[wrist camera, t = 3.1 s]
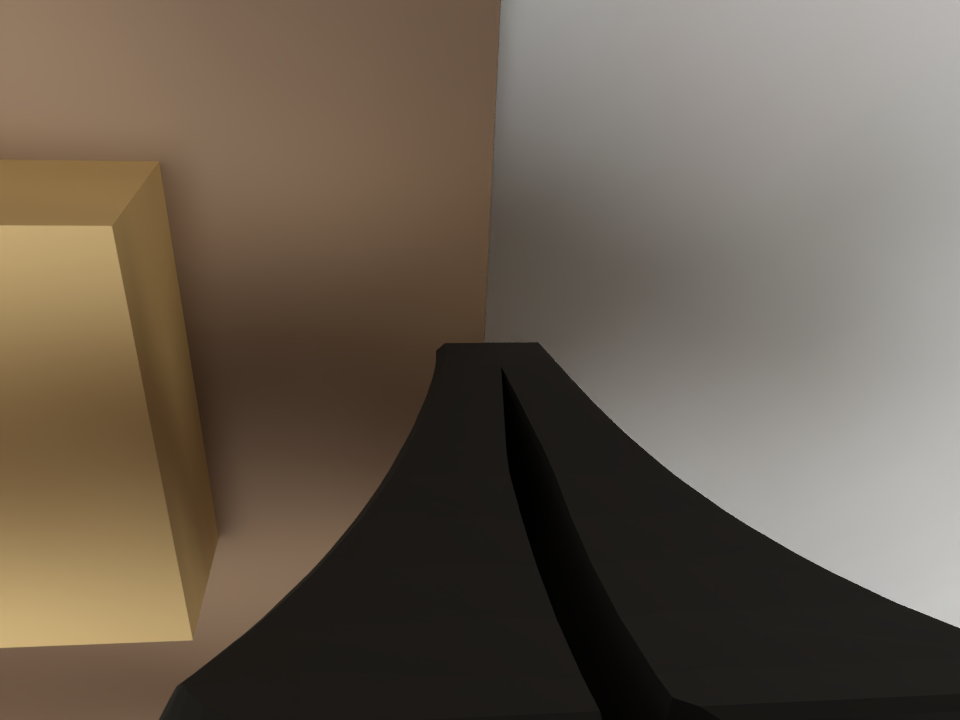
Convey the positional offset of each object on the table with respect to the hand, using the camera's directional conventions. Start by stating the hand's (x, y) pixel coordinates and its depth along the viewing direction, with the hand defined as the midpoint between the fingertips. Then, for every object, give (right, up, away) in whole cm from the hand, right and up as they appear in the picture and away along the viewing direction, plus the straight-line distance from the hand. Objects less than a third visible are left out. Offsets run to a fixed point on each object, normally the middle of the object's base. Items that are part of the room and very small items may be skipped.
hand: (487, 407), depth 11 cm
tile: (-7, 0, 0) cm, 7 cm away
